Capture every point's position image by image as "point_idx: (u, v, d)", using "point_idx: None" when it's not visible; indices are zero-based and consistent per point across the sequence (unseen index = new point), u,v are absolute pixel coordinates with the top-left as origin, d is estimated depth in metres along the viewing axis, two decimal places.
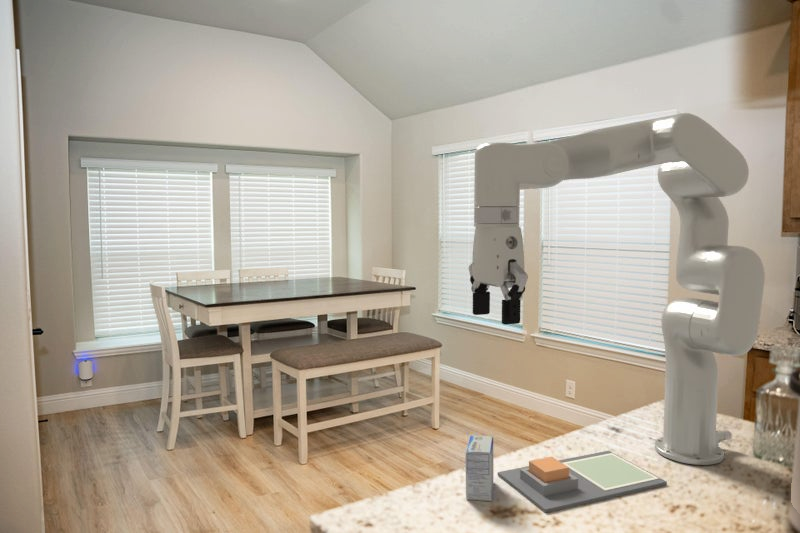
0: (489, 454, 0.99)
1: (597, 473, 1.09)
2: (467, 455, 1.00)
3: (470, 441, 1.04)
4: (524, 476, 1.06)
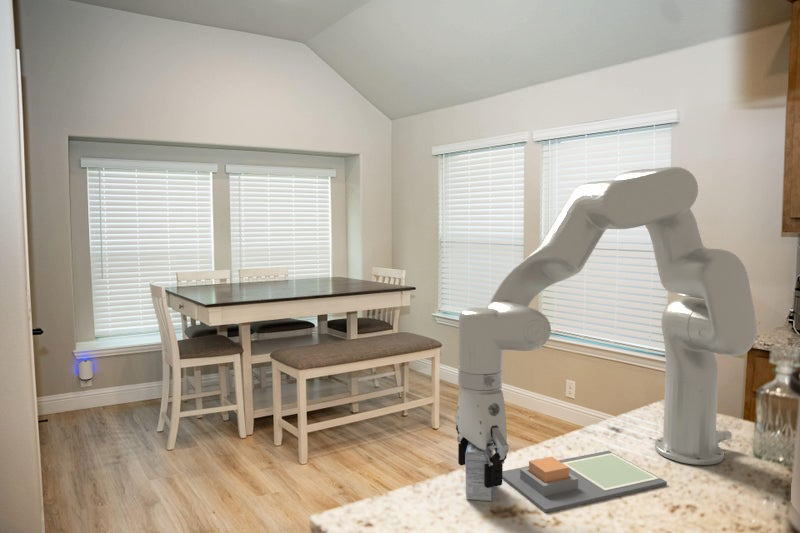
0: None
1: (597, 473, 1.09)
2: (467, 455, 1.00)
3: None
4: (524, 476, 1.06)
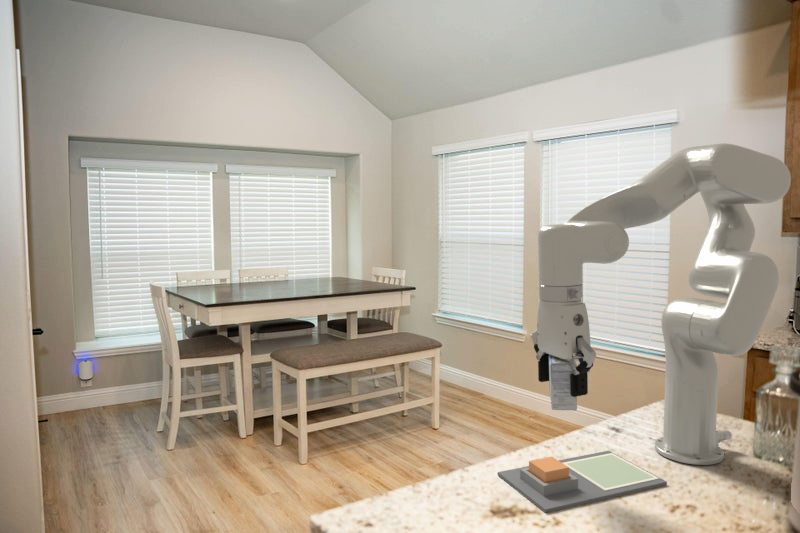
0: None
1: (597, 473, 1.09)
2: (552, 366, 1.02)
3: (551, 356, 1.07)
4: (524, 476, 1.06)
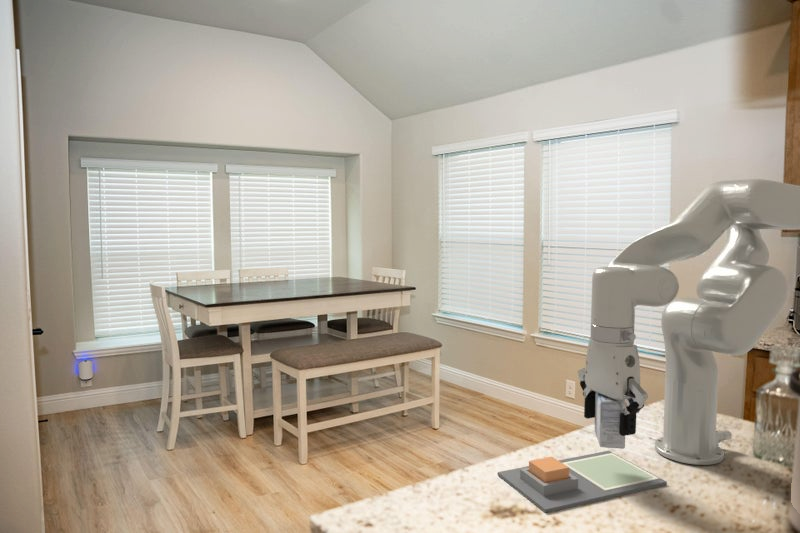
0: None
1: (597, 473, 1.09)
2: (602, 404, 1.05)
3: (599, 393, 1.10)
4: (524, 476, 1.06)
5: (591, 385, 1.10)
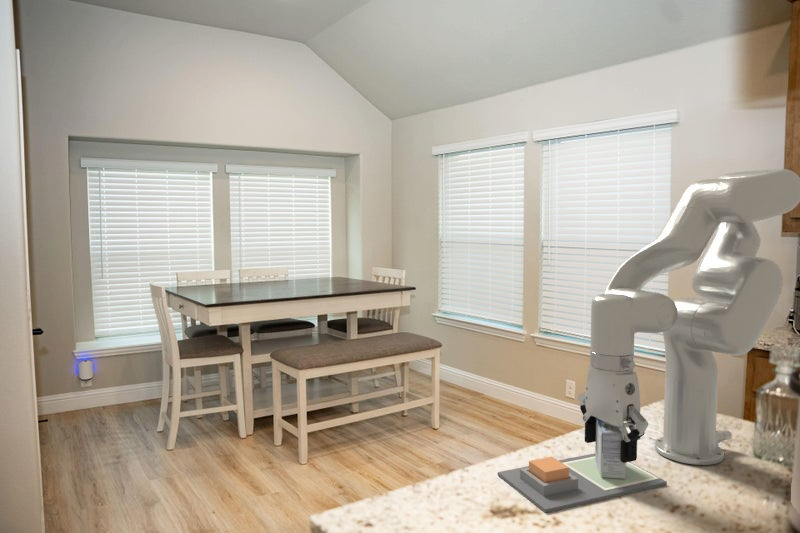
0: None
1: (597, 473, 1.09)
2: (603, 435, 1.06)
3: (600, 423, 1.11)
4: (524, 476, 1.06)
5: (591, 411, 1.11)
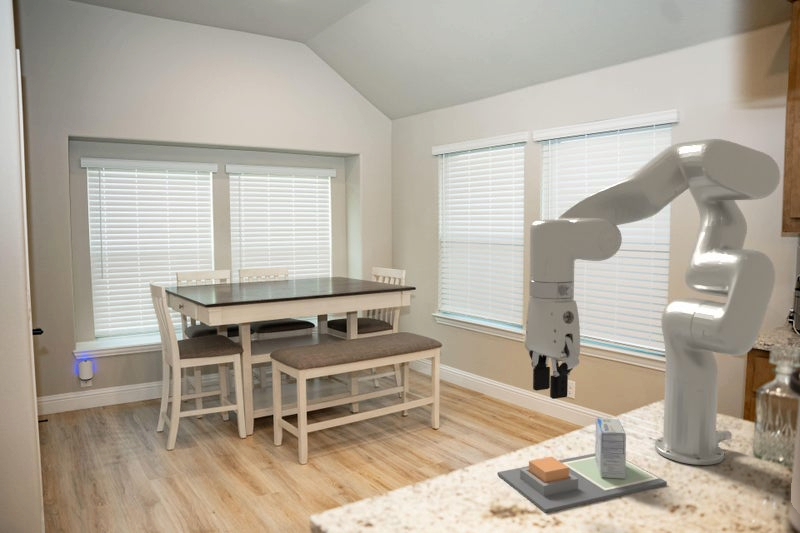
0: (624, 434, 1.05)
1: (597, 473, 1.09)
2: (602, 435, 1.06)
3: (600, 423, 1.11)
4: (524, 476, 1.06)
5: (531, 345, 1.04)
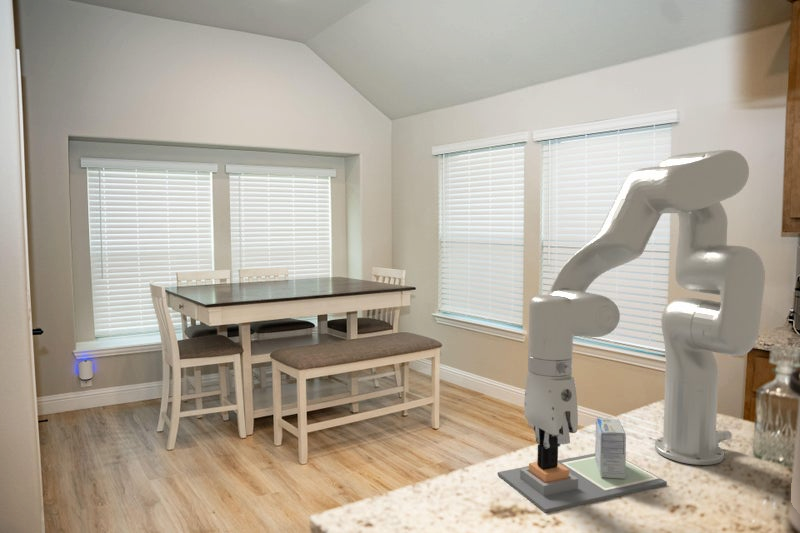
0: (624, 434, 1.05)
1: (597, 473, 1.09)
2: (602, 435, 1.06)
3: (600, 423, 1.11)
4: (524, 476, 1.06)
5: (530, 418, 1.06)
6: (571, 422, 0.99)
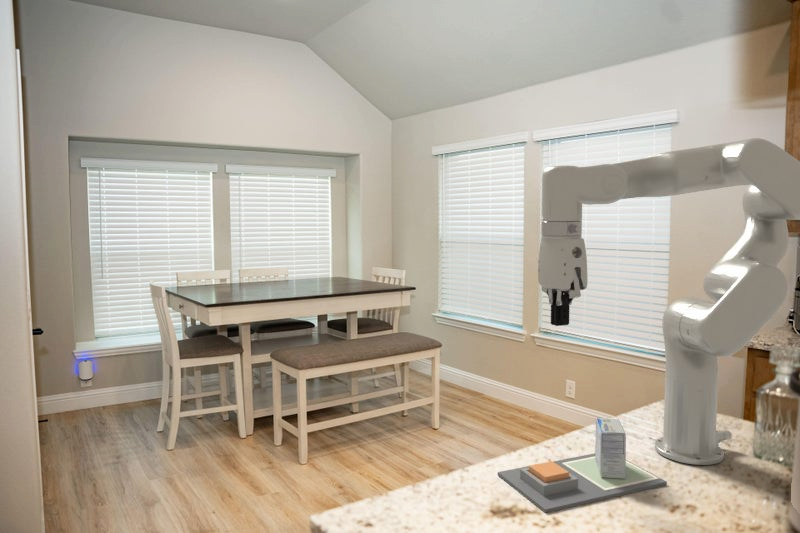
0: (624, 434, 1.05)
1: (597, 473, 1.09)
2: (602, 435, 1.06)
3: (600, 423, 1.11)
4: (524, 476, 1.06)
5: (543, 281, 1.16)
6: (581, 277, 1.10)
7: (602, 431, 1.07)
